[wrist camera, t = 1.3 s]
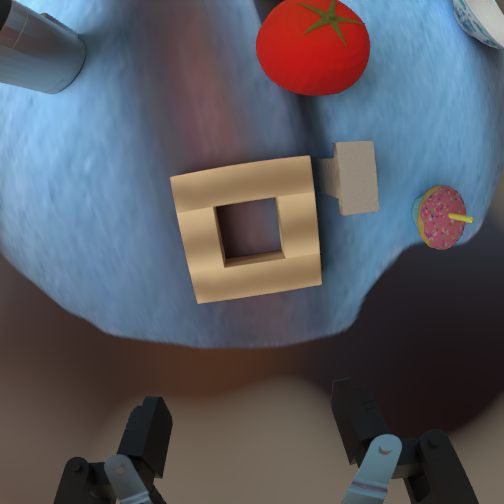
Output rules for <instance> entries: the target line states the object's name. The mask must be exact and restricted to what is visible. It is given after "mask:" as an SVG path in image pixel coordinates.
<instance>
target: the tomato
mask: <svg viewBox="0 0 504 504" xmlns="http://www.w3.org/2000/svg"><path fill="white" fill-rule="evenodd" d="M256 51H257V57H258V59H259V62H260V64H261V67H262V69H263V70H264V72H265V73H266V75H267V76H268V77H269V78H270V79H271V80H272V81H273V82H275V83H276V84H278V85H279V86H281V87H283V88H284V89H286V90H288V91H291V92H294V93H297V94H303V95H314V96H318V95H330V94H336V93H339V92H342V91H344V90H346V89H347V88H349V87H351V86H352V85H353V84H354V83H355V82H356V81H357V80H358V79H359V78H360V77H361V75H362V74H363V72H364V70H365V68H366V66H367V62H368V58H369V53H370V40H369V35H368V32H367V29H366V27H365V25H364V23H363V22H362V20H361V19H360V18H359V17H358V16H357V15H356V14H355V13H354V12H353V11H352V10H351V9H350V8H349V7H347V6H346V5H345V4H343V3H342V2H340V1H338V0H285V1H283V2H282V3H280V4H279V5H278V6H276V7H275V8H274V9H273V10H272V11H271V12H270V14H269V15H268V16H267V18H266V19H265V21H264V23H263V25H262V26H261V28H260V30H259V32H258V36H257V40H256Z"/></svg>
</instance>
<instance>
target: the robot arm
mask: <svg viewBox="0 0 504 504" xmlns="http://www.w3.org/2000/svg"><path fill="white" fill-rule="evenodd" d="M85 52H86V49H85V45H84V43H83V42H82V41H81V40H79V39H78V34H77V33H76V32H74V31H73V30H71V29H70V28H69V27H67V26H66V25H64V24H63V23H61V22H60V21H58V20H56V19H55V18H53V17H52V16H50V15H49V14H47V13H42V14H38V13H37V12H35V11H33V10H32V9H30V8H28V7H26V6H24V5H22V4H21V3H19V2H17V1H15V0H0V82H1V83H6V84H10V85H15V86H19V87H23V88H27V89H31V90H35V91H39V92H43V93H46V94H54V93H57V92H59V91H61V90H62V89H64V88H65V87H67V86H68V85H69V84H70V83H71V82H72V81H73V79H74V78H75V77H76V75H77V74H78V73H79V71H80V69H81V67H82V65H83V62H84V59H85ZM331 407H332V412H333V415H334V418H335V421H336V424H337V427H338V430H339V433H340V436H341V439H342V442H343V445H344V448H345V450H346V454H347V457H348V460H349V463H350V465H352V464H356V463H357V465H358V468H359V471H358V473H357V474H356V476H355V478H354V480H353V482H352V484H351V486H350V488H349V490H348V491H347V493H346V495H345V497H344V498H343V500H342V502H341V504H383V501H384V499H385V497H386V494H387V487H388V485H389V482H390V480H391V479H399V478H403V480H404V483H405V485H406V489H407V492H408V495H409V498H410V501H411V504H479V503H478V500H477V498H476V495H475V493H474V491H473V488H472V486H471V484H470V482H469V479H468V477H467V475H466V473H465V471H464V469H463V466H462V464H461V462H460V460H459V458H458V456H457V454H456V452H455V450H454V448H453V446H452V444H451V442H450V440H449V438H448V436H447V435H446V434H445V433H444V432H443V431H441V430H436V429H435V430H430V431H428V432H426V433H425V434H424V435H423V436H422V437H421V438H413V439H399V438H397V437H396V436H394V435H392V434H391V433H390V432H389V430H388V428H387V426H386V424H385V422H384V420H383V418H382V416H381V414H380V412H379V410H378V408H377V406H376V404H375V402H374V400H373V398H372V396H371V394H370V392H369V391H368V390H367V389H365V388H364V387H363V386H357V387H354V385H353V382H352V381H351V379H350V378H345V379H341V380H336V381H334V382H333V389H332V398H331ZM172 425H173V422H172V416H171V414H170V412H169V410H168V408H167V406H166V404H165V402H164V400H163V398H162V397H160V396H159V397H158V396H146V397H145V399H144V401H143V405H142V406H137V407H136V408H135V409H134V410H133V411H132V412H131V414H130V417H129V419H128V423H127V425H126V429H125V431H124V434H123V437H122V439H121V442H120V446H119V449H118V451H117V454H116V455H113V456H111V457H109V458H108V459H107V460H106V462H98V463H88V462H87V461H86V460H85V459H84V458H81V457H73V458H71V459H70V460H69V461H68V462H67V464H66V466H65V469H64V472H63V474H62V478H61V481H60V484H59V487H58V490H57V493H56V497H55V500H54V504H116V498H118V500H119V502H120V504H167V503H166V502H165V500H164V499H163V497H162V496H161V494H160V493H159V491H158V490H157V488H156V487H155V485H154V484H153V481H154V478H160V479H162V477H163V472H164V466H165V461H166V456H167V450H168V445H169V440H170V435H171V430H172Z"/></svg>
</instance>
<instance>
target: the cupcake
mask: <svg viewBox="0 0 504 504" xmlns="http://www.w3.org/2000/svg"><path fill="white" fill-rule="evenodd" d="M460 195H461V194H459V193H458V192H457V191H456V190H454V189H452V188H451V187H449V186H443V185H438V186H434V187H432V188H431V189H430V190H428V191H427V192H426V193H425V194H424V195H422V196H420V197H418V198H417V199H416V200H415V202H414V204H413V207H412V219H413V221H414V223H415V225H416V226H417V227H418V230H419V234H420V236H421V238H422V239H423V240H424V242H426V243H427V245H428V246H430V247H433V248H434V249H441V250H442V249H447V248H448V247H451V246H452V245H453V244H454V243H456V241H458V239H459V238H460V237H461V236H462V234H463V233H462V232H463V231H464V227H465V225H466V223H465V222H469V223H472V222H473V221H476V220H475V219H473V218H472V217H469V216H466V211H465V210H466V209H465V208H466V207H465V205H464V202H463V200H462V198H461V196H460Z"/></svg>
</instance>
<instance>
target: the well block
mask: <svg viewBox="0 0 504 504" xmlns="http://www.w3.org/2000/svg"><path fill="white" fill-rule="evenodd" d="M170 180H171V185H172V191H173V196H174V201H175V206H176V212H177V216H178V221H179V226H180V231H181V236H182V240H183V245H184V249H185V253H186V258H187V262H188V266H189V270H190V275H191V279H192V283H193V287H194V291H195V294H196V298H197V302H198V303H206V302H213V301H221V300H228V299H235V298H242V297H249V296H255V295H262V294H268V293H274V292H280V291H287V290H292V289H298V288H304V287H310V286H315V285H321V284H322V281H321V263H320V248H319V235H318V224H317V213H316V203H315V193H314V185H313V176H312V168H311V161H310V156H300V157H290V158H282V159H273V160H266V161H258V162H251V163H244V164H238V165H232V166H226V167H220V168H214V169H209V170H203V171H198V172H193V173H188V174H183V175H178V176H174V177H170ZM272 197H275V200H276V208H277V215H278V223H279V231H280V239H281V247H282V251H275V252H269V253H262V254H256V255H249V256H243V257H236V258H230V259H225V254H224V248H223V243H222V238H221V232H220V227H219V221H218V216H217V210H216V206H220V205H226V204H233V203H239V202H245V201H252V200H258V199H265V198H272Z"/></svg>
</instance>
